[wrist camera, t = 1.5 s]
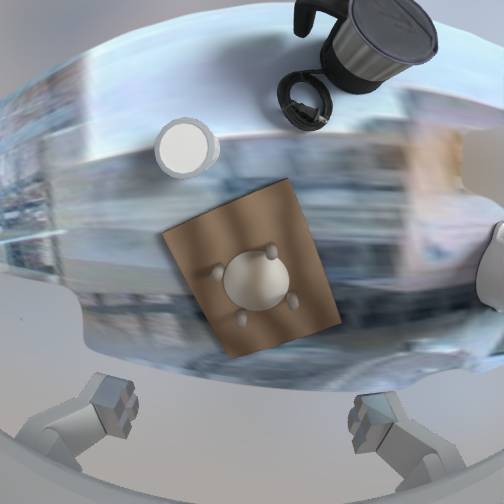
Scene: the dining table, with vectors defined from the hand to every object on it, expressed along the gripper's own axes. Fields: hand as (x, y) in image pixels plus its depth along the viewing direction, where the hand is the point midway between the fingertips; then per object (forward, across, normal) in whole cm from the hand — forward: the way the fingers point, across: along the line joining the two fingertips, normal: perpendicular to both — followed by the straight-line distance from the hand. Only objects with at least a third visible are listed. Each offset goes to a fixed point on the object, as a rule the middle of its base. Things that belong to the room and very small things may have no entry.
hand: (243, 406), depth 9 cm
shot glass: (+30, +8, -10) cm, 33 cm away
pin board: (+30, -1, +7) cm, 31 cm away
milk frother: (+30, -9, -20) cm, 37 cm away
